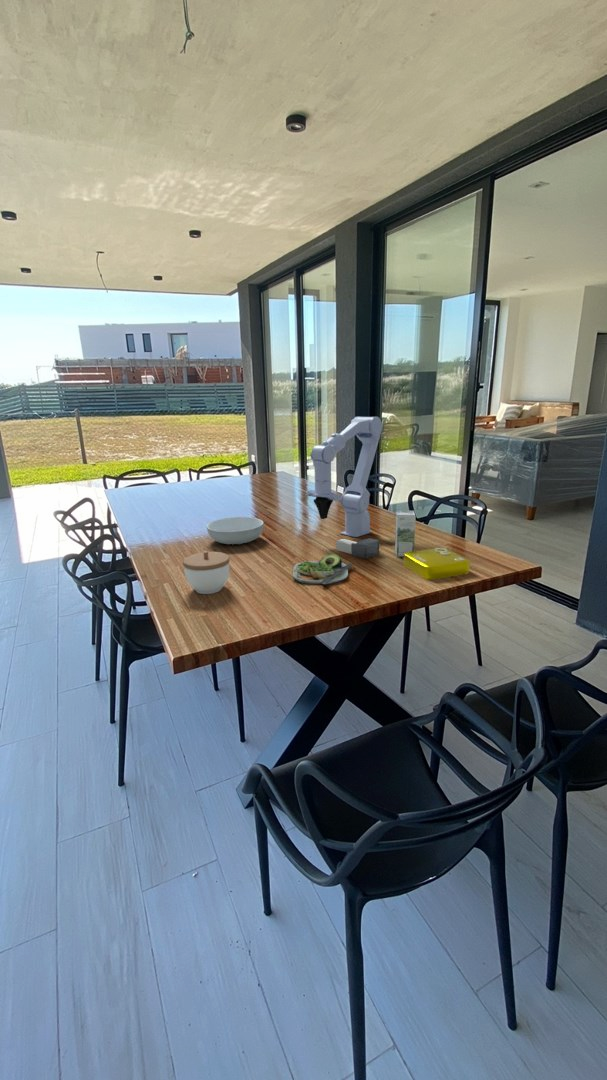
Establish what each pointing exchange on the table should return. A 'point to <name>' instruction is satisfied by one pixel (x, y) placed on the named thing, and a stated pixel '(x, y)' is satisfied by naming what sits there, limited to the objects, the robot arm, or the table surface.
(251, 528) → the serving bowl
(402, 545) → the syrup box
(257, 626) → the table surface
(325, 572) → the salad plate
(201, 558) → the lidded sugar bowl
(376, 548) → the dark gray block
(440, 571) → the element tile
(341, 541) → the gray rectangular block
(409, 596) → the table surface
